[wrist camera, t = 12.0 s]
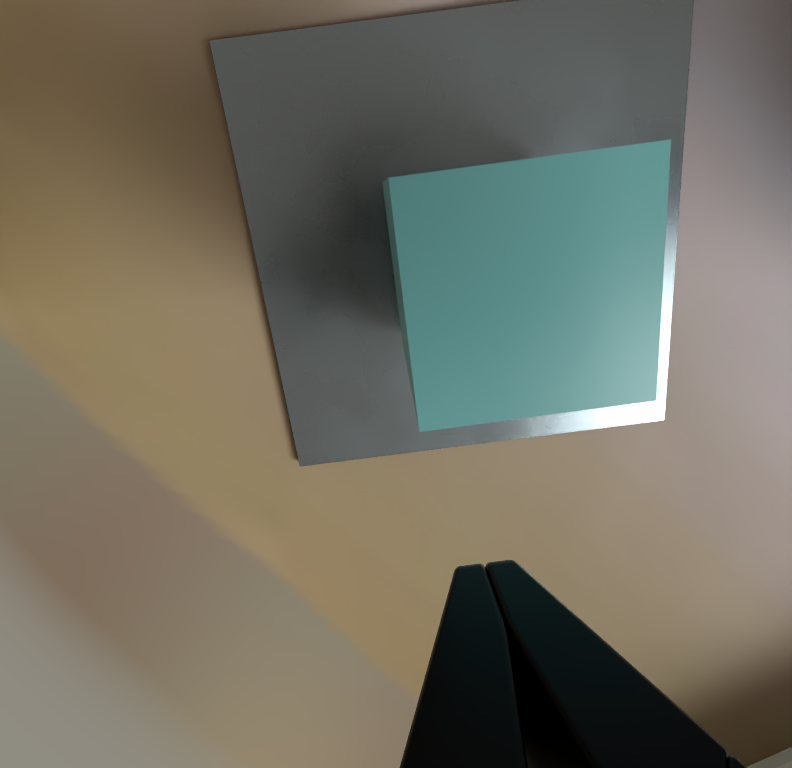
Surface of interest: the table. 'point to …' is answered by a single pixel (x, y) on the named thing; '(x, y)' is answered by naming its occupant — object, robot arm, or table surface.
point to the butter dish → (776, 760)
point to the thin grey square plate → (420, 153)
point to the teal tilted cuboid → (531, 283)
